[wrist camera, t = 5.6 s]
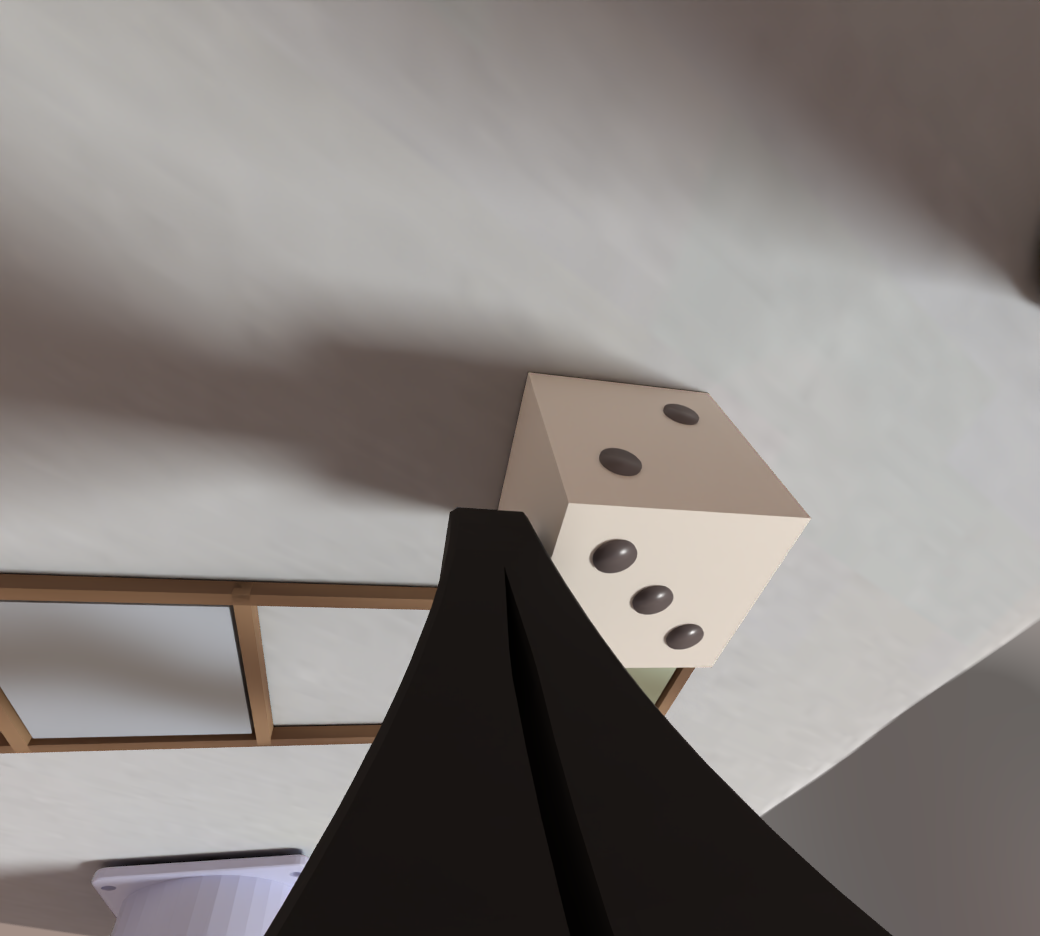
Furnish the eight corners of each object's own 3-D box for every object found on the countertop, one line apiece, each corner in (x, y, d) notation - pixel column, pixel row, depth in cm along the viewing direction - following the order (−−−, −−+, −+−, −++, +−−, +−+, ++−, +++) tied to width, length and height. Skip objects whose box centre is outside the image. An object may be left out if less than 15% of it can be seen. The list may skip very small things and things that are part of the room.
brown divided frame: (648, 724, 20) (651, 735, 20) (-258, 745, 15) (-273, 760, 14) (727, 597, 16) (733, 608, 16) (-491, 558, 11) (-520, 573, 10)
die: (648, 529, 14) (712, 669, 11) (495, 521, 13) (516, 670, 10) (708, 391, 12) (814, 517, 9) (528, 369, 11) (570, 502, 8)
